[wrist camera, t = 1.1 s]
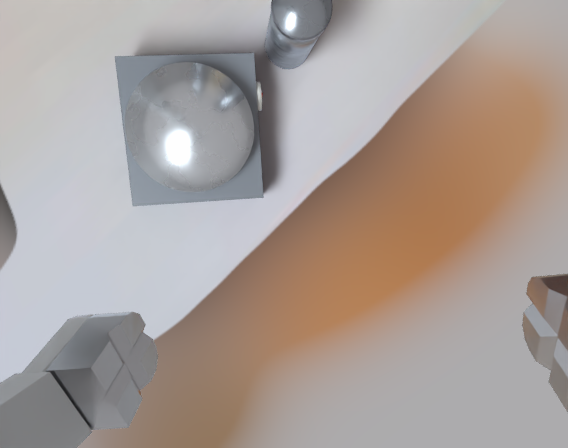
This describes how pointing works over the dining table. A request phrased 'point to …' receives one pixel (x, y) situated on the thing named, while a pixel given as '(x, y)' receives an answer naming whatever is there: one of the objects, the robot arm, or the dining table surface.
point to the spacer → (295, 30)
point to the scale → (243, 76)
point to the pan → (189, 127)
